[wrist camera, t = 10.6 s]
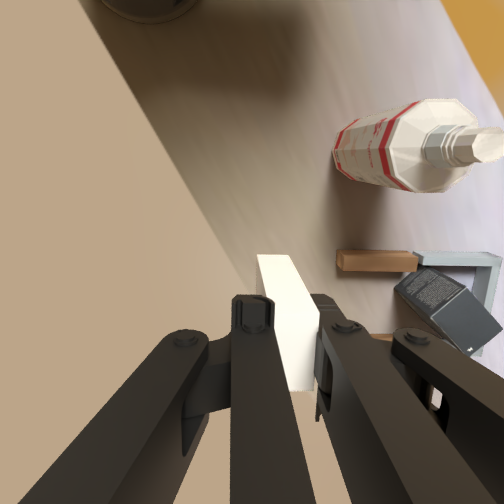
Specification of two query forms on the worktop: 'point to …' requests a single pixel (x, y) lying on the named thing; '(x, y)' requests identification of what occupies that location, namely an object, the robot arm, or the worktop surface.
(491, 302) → the bay
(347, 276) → the worktop surface
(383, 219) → the worktop surface
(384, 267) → the brown bar
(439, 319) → the box
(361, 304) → the worktop surface
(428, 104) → the white bottle
